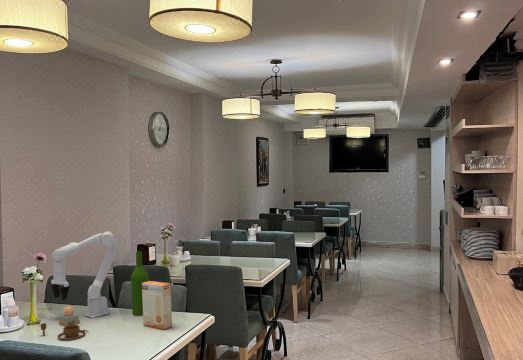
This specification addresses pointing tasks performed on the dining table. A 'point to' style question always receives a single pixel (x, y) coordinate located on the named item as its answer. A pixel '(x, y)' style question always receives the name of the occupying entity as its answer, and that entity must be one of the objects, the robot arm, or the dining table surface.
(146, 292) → the cracker box
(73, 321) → the walnut block
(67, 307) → the terracotta cylinder
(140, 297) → the wine bottle
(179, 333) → the dining table surface
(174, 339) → the dining table surface
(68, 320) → the slate block
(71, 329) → the place setting
